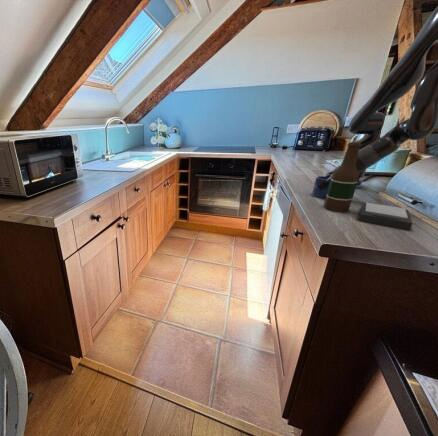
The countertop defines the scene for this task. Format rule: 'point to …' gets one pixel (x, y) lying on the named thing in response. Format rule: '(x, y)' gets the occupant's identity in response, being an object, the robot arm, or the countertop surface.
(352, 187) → the beer bottle
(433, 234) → the countertop surface
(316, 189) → the blue pot
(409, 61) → the robot arm
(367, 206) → the kitchen scale
